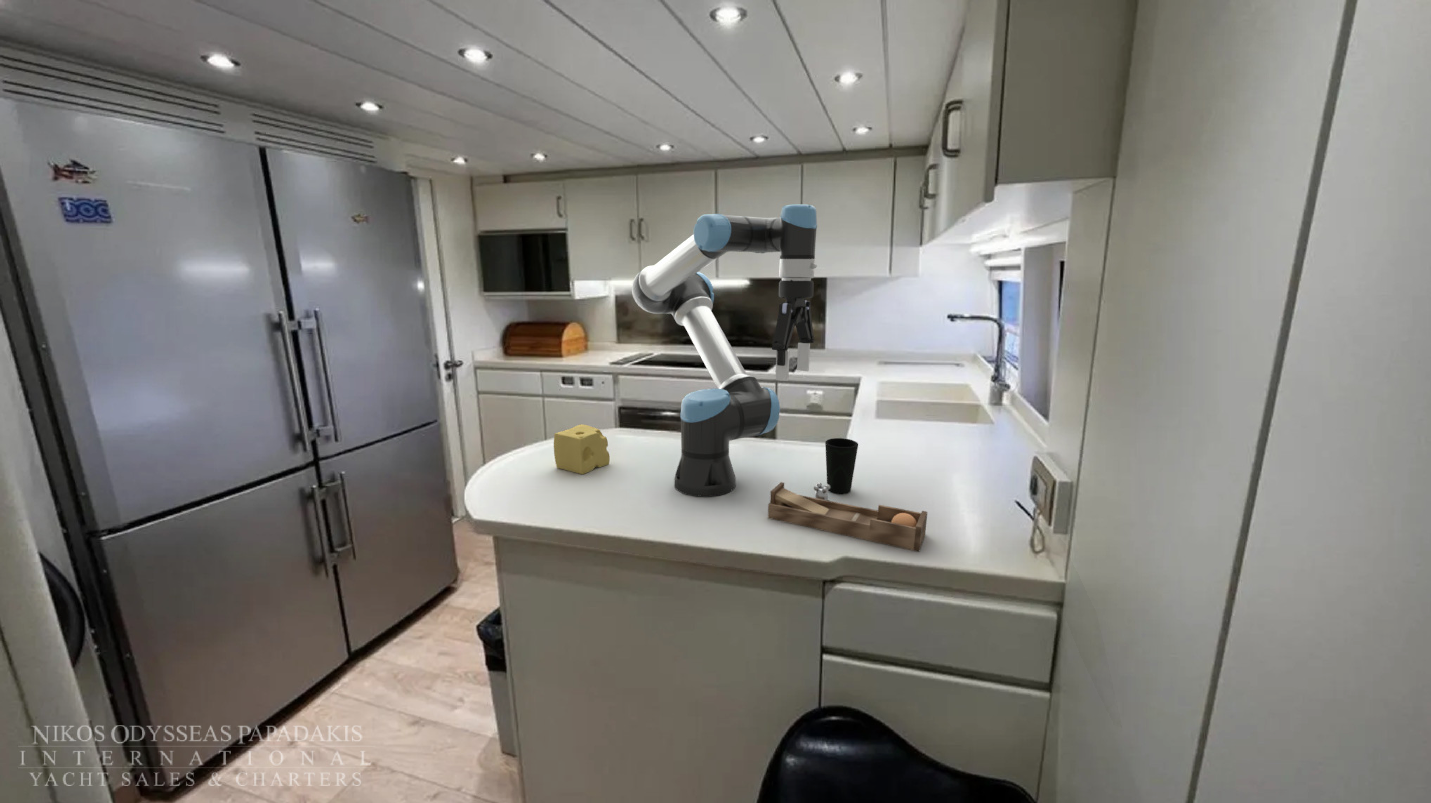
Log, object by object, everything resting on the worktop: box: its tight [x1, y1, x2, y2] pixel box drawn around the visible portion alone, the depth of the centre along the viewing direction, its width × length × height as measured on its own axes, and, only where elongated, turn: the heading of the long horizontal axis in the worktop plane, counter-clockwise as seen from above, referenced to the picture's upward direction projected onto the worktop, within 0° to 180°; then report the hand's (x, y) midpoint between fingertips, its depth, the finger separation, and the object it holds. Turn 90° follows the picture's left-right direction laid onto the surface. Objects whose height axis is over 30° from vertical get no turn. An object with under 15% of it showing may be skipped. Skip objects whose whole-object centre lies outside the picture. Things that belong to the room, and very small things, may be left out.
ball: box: [891, 513, 917, 527], centre depth 111 cm, size 5×5×5 cm
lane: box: [767, 481, 928, 553], centre depth 116 cm, size 31×8×6 cm, turn 62°
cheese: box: [553, 423, 610, 475], centre depth 151 cm, size 10×11×10 cm
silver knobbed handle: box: [813, 482, 830, 501], centre depth 127 cm, size 5×5×5 cm
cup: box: [824, 437, 859, 495], centre depth 135 cm, size 8×8×12 cm
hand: (792, 375), depth 128 cm, fingers open, 13 cm apart
